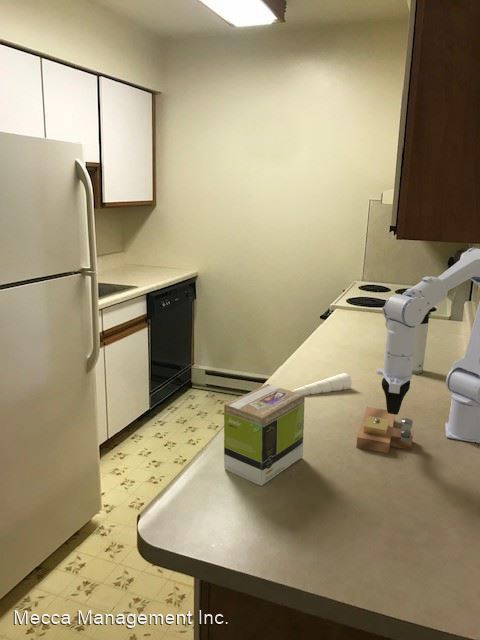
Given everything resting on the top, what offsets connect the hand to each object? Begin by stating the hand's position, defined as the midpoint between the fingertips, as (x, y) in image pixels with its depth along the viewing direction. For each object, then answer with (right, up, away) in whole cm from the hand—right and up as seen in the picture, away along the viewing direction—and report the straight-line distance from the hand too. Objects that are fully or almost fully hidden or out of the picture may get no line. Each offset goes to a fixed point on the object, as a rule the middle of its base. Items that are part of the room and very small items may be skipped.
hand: (392, 412), depth 107 cm
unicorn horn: (-11, -1, +36) cm, 38 cm away
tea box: (-28, -10, -3) cm, 30 cm away
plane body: (+2, -7, +11) cm, 14 cm away
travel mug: (+24, +3, +56) cm, 61 cm away
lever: (+4, -5, +3) cm, 7 cm away
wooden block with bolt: (-1, -5, +9) cm, 10 cm away
